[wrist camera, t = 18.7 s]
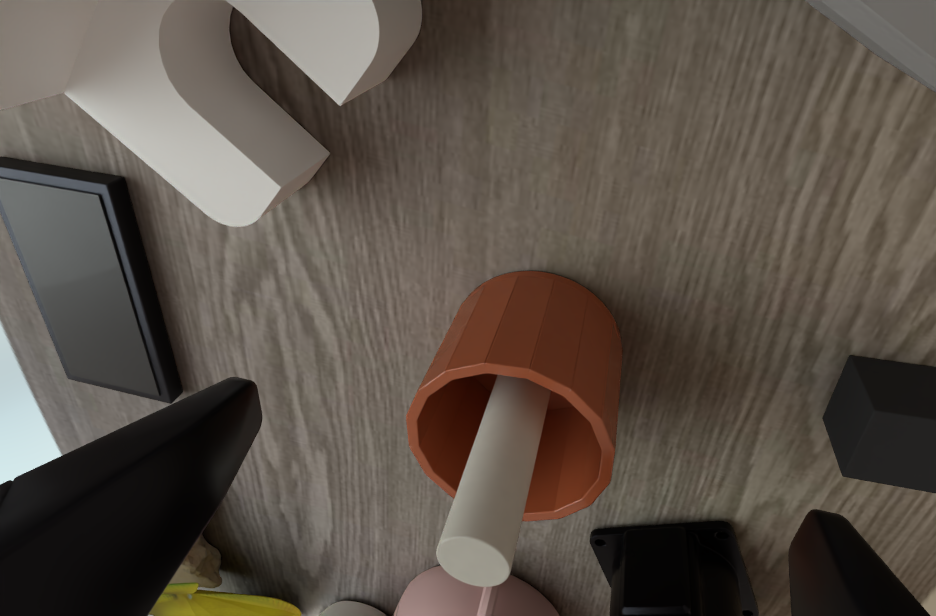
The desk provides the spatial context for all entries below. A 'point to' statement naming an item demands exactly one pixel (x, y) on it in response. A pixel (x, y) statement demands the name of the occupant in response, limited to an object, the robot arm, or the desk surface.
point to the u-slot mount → (201, 82)
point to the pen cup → (539, 360)
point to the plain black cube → (885, 423)
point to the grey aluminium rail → (891, 31)
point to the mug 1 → (351, 609)
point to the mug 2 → (470, 598)
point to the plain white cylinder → (495, 485)
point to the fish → (217, 603)
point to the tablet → (89, 276)
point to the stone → (200, 566)
